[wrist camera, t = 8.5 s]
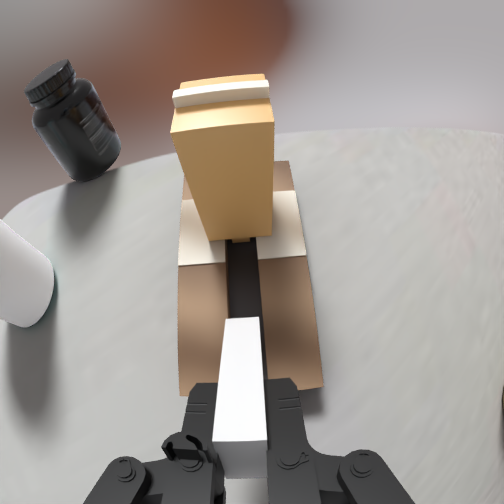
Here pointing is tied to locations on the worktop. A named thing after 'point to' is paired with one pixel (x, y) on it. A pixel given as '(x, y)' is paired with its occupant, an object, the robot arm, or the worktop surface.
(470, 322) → the worktop surface
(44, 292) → the can
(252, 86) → the fader tab
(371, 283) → the worktop surface
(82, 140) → the supplement bottle
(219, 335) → the console
